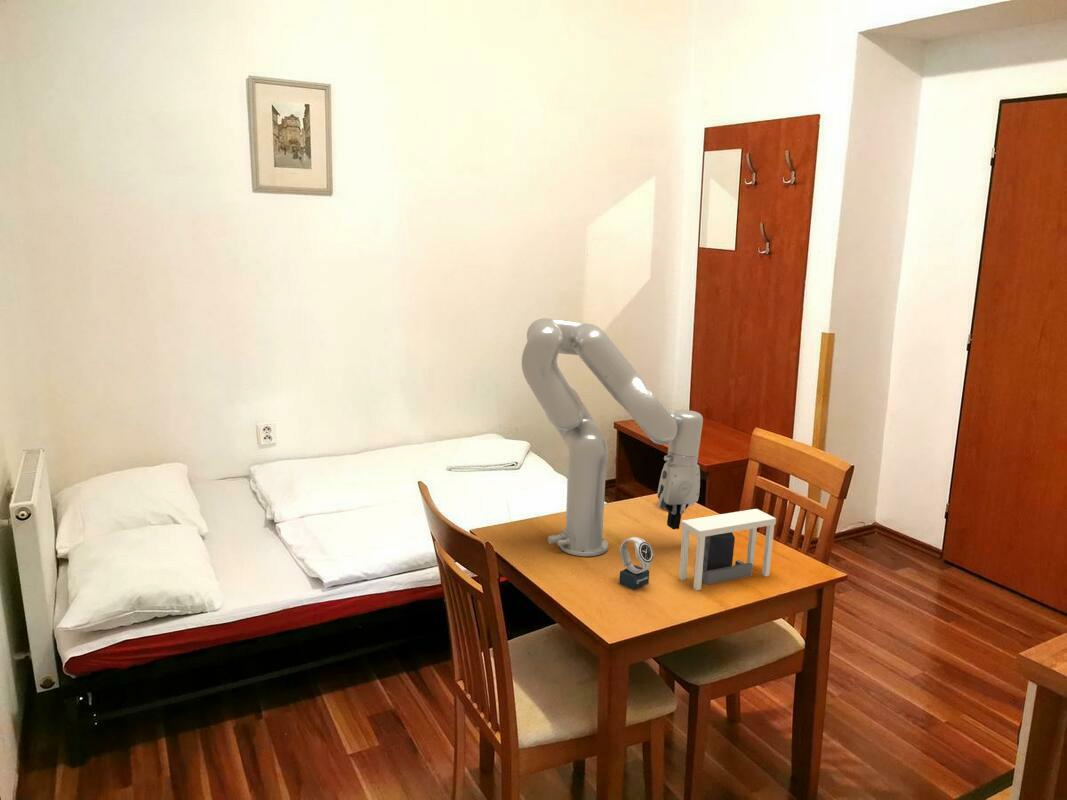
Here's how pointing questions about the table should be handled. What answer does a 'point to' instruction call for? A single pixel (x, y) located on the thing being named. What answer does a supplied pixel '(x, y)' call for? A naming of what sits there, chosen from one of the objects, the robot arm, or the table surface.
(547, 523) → the table surface
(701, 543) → the overhang shelf
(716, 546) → the small box
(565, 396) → the robot arm
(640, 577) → the watch
